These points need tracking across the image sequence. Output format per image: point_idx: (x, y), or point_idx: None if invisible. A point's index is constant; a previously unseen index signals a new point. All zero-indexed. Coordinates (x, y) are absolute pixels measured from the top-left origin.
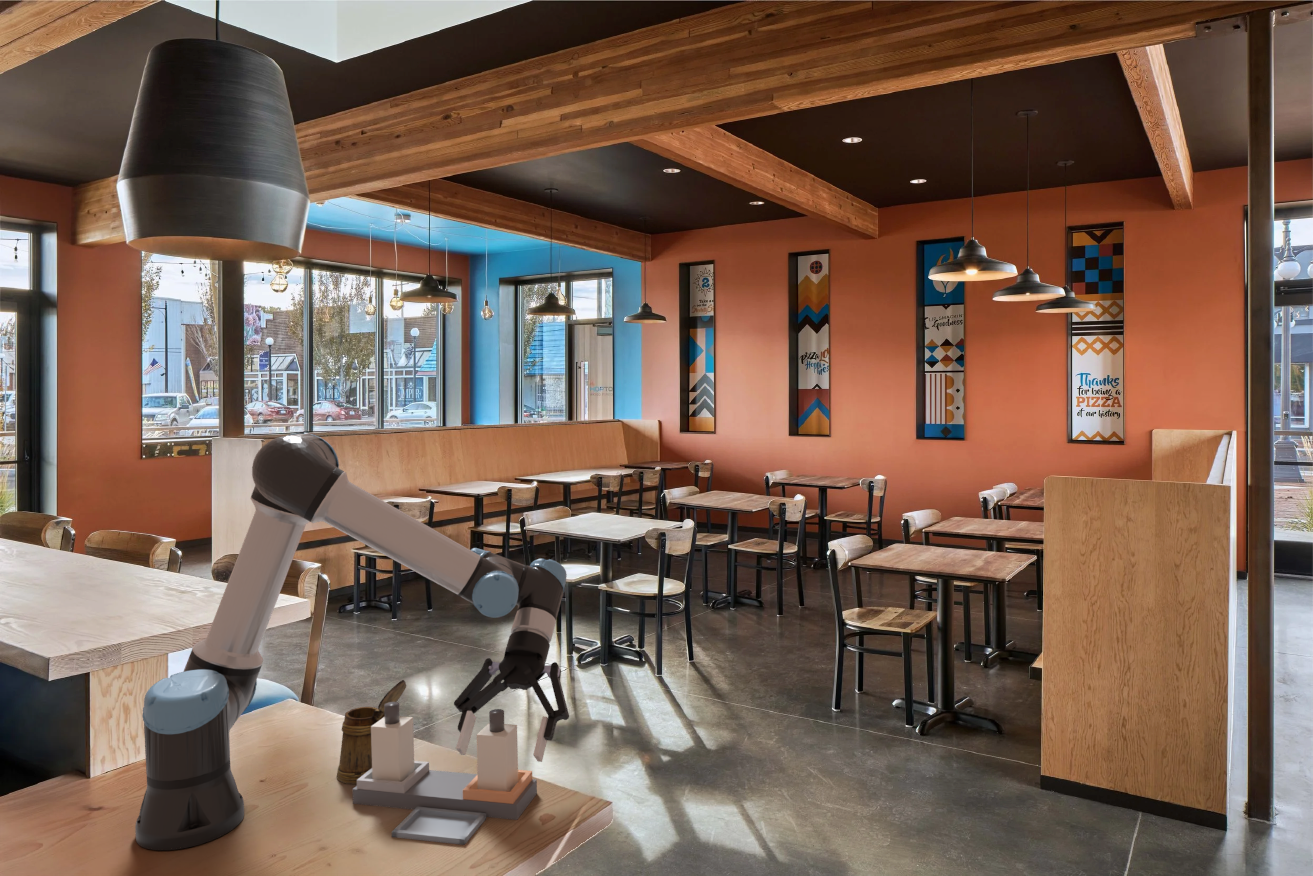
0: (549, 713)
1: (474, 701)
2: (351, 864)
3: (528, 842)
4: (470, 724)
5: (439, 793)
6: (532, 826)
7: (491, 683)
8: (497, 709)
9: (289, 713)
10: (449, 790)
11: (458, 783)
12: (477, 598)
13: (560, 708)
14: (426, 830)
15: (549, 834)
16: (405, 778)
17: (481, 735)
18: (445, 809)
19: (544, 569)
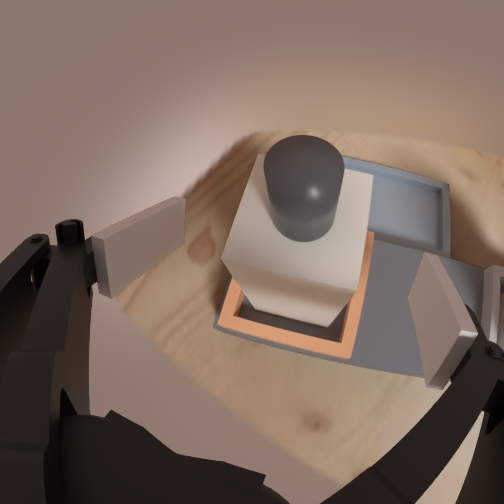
0: (75, 225)
1: (473, 372)
2: (457, 148)
3: (231, 176)
4: (436, 325)
5: None
6: (226, 220)
7: (420, 479)
8: (306, 193)
9: None
10: (409, 281)
11: (400, 316)
12: None
13: (34, 245)
14: (405, 199)
15: (199, 197)
16: (501, 316)
17: (353, 170)
18: None
19: None
